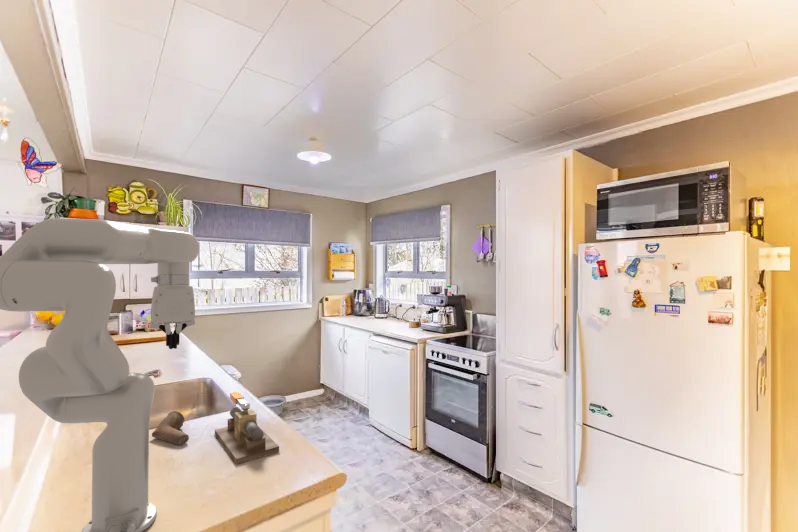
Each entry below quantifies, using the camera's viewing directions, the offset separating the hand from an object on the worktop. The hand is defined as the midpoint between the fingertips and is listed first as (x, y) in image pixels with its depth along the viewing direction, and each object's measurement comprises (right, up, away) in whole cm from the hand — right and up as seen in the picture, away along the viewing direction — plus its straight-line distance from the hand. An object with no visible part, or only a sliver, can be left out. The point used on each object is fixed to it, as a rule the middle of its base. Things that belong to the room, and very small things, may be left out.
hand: (172, 348), depth 104 cm
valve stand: (+15, -32, +13) cm, 38 cm away
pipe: (-9, -32, +17) cm, 38 cm away
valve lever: (+11, -22, +18) cm, 30 cm away
